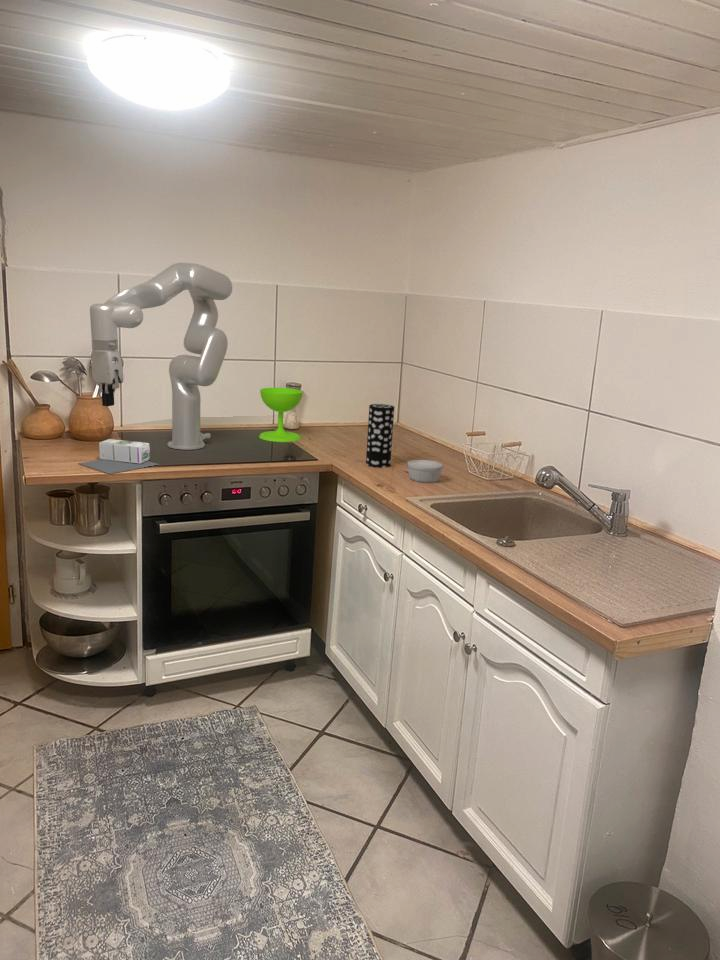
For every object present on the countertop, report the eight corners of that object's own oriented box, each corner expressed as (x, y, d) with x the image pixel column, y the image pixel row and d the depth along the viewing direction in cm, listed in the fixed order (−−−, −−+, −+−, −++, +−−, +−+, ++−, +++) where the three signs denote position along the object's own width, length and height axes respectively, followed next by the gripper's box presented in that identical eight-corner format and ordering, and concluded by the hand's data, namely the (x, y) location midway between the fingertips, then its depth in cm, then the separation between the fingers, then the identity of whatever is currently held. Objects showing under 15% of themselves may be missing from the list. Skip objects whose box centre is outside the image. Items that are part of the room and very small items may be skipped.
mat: (128, 455, 243) (128, 455, 243) (159, 465, 234) (159, 464, 234) (78, 464, 229) (78, 463, 229) (109, 474, 220) (109, 473, 220)
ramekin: (419, 473, 245) (420, 457, 243) (448, 480, 238) (449, 464, 236) (399, 478, 236) (400, 462, 235) (428, 486, 229) (429, 469, 228)
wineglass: (250, 435, 287) (251, 388, 282) (284, 431, 297) (285, 386, 293) (275, 443, 275) (277, 394, 271) (309, 439, 286) (311, 392, 281)
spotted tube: (373, 468, 247) (376, 408, 242) (361, 462, 254) (364, 404, 249) (394, 467, 250) (399, 407, 245) (382, 461, 258) (386, 403, 253)
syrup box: (99, 459, 235) (141, 465, 232) (98, 441, 234) (140, 446, 231) (109, 455, 241) (150, 460, 238) (108, 437, 239) (150, 442, 236)
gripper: (130, 347, 225) (133, 407, 230) (101, 342, 233) (104, 400, 239) (109, 349, 219) (112, 410, 224) (79, 344, 228) (83, 403, 233)
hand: (108, 405), depth 231 cm, fingers closed
